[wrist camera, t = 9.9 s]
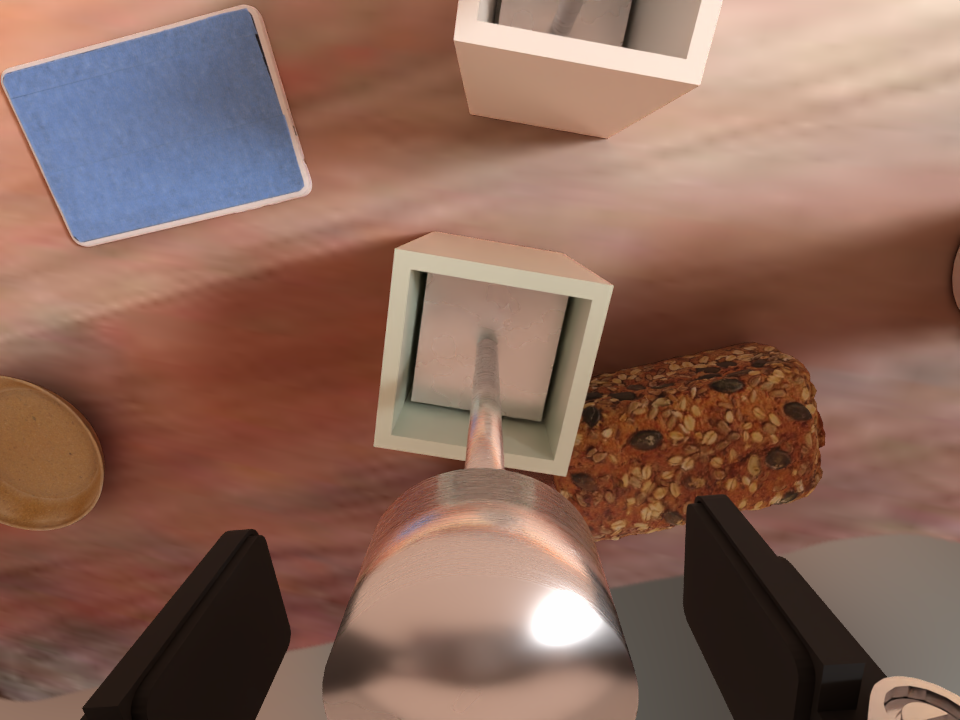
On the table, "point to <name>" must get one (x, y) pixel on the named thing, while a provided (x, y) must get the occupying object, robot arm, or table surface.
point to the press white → (583, 66)
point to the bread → (693, 439)
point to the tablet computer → (161, 127)
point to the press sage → (448, 427)
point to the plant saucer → (45, 459)
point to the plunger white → (570, 18)
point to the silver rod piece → (482, 550)
